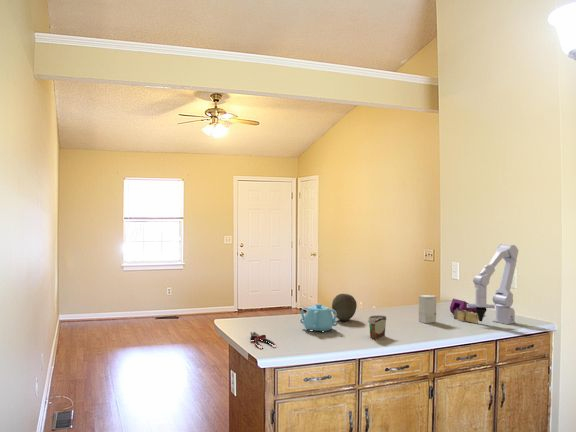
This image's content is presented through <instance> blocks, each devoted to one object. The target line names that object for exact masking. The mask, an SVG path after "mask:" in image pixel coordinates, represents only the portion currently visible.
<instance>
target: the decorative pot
mask: <svg viewBox="0 0 576 432" xmlns="http://www.w3.org/2000/svg"><path fill="white" fill-rule="evenodd" d="M305 310H306V312H305V314H304V311H305ZM333 312H334V313H335V315H334V316H333ZM300 314H301V319H300V320H299V321H300V324H303V326H304V328H305V329H306V330H308V331H309V330H314V331H320V332H321V331H326V332H327V331H330V330H331V329H332V328H333V327H336V326H337V325H338V320H337V318H336V316H337V312H336V311H335V310H333V309H332V308H331V309H330V307H328V306H324V305H323V304H322V303H315V305H311V306H309V307H303V308H302V309H301V311H300Z"/></svg>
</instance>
